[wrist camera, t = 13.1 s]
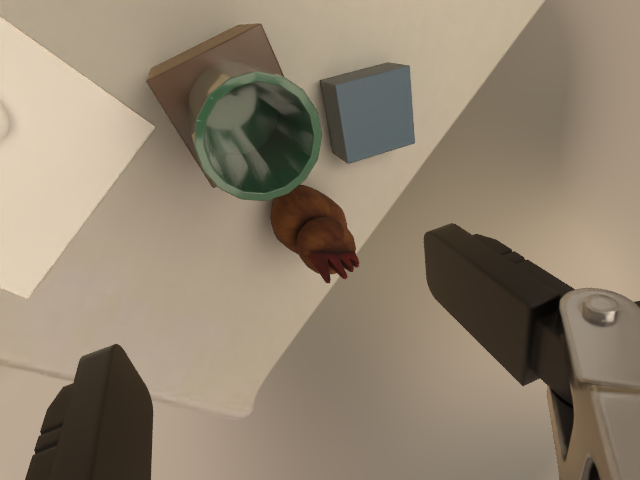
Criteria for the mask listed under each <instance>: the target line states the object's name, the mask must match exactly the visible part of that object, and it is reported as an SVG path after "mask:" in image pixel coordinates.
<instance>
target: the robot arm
mask: <svg viewBox="0 0 640 480" xmlns="http://www.w3.org/2000/svg"><path fill="white" fill-rule="evenodd" d="M424 249H425V264H426V278H427V283H428V286H429V289H430V291H431V293H432V295H433V296H434V298H435V299H436V300H437V301H438V302H439V303H440V304H441V305H442V306H443V307H444V308H445V309H446V310H447V311H448V312H449V313H450V314H451V315H452V316H453V317H454V318H455V319H456V320H457V321H458V322H459V323H460V324H461V325H462V326H463V327H464V328H465V329H466V330H467V331H468V332H469V333H470V334H471V335H472V336H473V337H474V338H475V339H476V340H477V341H478V342H479V343H480V344H481V345H482V346H483V347H484V348H485V349H486V350H487V351H488V352H489V353H490V354H491V355H492V356H493V357H494V358H495V359H496V360H497V361H498V362H499V363H500V364H502V366H503V367H504V368H505V369H506V370H507V371H508V372H509V373H510V374H511V375H512V376H513V377H514V378H515V379H516V380H517V381H518V382H519V383H520V384H521V385H522V386H524V385H526V384H529V383H531V382H533V381H535V380H537V379H539V378H541V379H542V380H543V381H544V382H545V383H546V384H547V385H548V387H547V399H548V406H549V412H550V417H551V425H552V430H553V437H554V444H555V450H556V456H557V463H558V469H559V480H640V301H637V302H633V301H632V300H630V299H628V298H627V297H625V296H623V295H620V294H618V293H615V292H612V291H608V290H603V289H598V288H597V289H596V288H582V289H576V290H575V289H573V288H572V287H570V286H568V285H567V284H565V283H564V282H562V281H561V280H559V279H558V278H556V277H554V276H553V275H551V274H550V273H548V272H546V271H545V270H543V269H542V268H540V267H539V266H537V265H535V264H534V263H532V262H530V261H529V260H525V259H524V257H523V256H521V255H520V254H518V253H516V252H512V250H511V249H510V248H508V247H507V246H505V245H504V244H502V243H500V242H499V241H497V240H495V239H492V238H489V237H485V236H482V235H479V234H475V235H471V234H470V233H468V232H467V231H465V230H464V229H462V228H461V227H459V226H457V225H456V224H453V223H451V224H448V225H445V226H442V227H440V228H437V229H434V230H432V231H429V232H426V233H425V235H424ZM152 427H153V405H152V400H151V397H150V393H149V391H148V389H147V387H146V385H145V383H144V382H143V380H142V378H141V377H140V375H139V374H138V372H137V370H136V369H135V367H134V366H133V364H132V362H131V361H130V359H129V358H128V356H127V354H126V353H125V351H124V350H123V348H122V347H121V346H120V345H118V344H115V345H112V346H109V347H107V348H104V349H101V350H98V351H96V352H93V353H90V354H87V355H84V356H82V357H81V359H80V361H79V364H78V368H77V372H76V375H75V379H74V383H73V384H70V385H67V386H65V387H63V388H62V390H61V391H60V392H59V394H58V395H57V396H56V398H55V399H54V401H53V402H52V403H51V405H50V406H49V408H48V409H47V412H46V415H45V418H44V421H43V425H42V428H41V431H40V432H41V435H40V436H39V437H38V440H37V443H36V447H35V450H34V451H35V455H33V456H32V459H31V462H30V466H29V469H28V472H27V475H26V479H25V480H151V459H152V458H151V457H152V429H153V428H152Z"/></svg>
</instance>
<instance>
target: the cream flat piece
mask: <svg viewBox="0 0 640 480" xmlns="http://www.w3.org/2000/svg"><path fill="white" fill-rule="evenodd" d="M10 129H11V119H10V115H9V113H8V111H7V109H6V108H5V107H4V105H3V104H2V103H1V102H0V141H2V140H3V139H4V138H5V137H6V136H7V135H8V134H9V132H10Z"/></svg>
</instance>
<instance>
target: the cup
mask: <svg viewBox="0 0 640 480" xmlns="http://www.w3.org/2000/svg"><path fill="white" fill-rule="evenodd" d="M187 118H188V122H189V126H190V130H191V135H192V139H193V143H194V147H195V150H196V153H197V155H198V158H199V161H200V164H201V166H202V169H203V171H204V172H205V173H206V174H207V176H208V177H209V178H210V179H211V180H212V181H213V182H214V183H215V184H216V185H217V186H218V188H220V189H221V190H223V191H225V192H227V193H229V194H231V195H233V196H236V197H238V198H240V199H243V200H259V201H267V200H270V199H273V198H276V197H279V196H282V195H286V194H288V193H289V192H291V191H292V190H293V189H294V188H296V187H297V186H298V185H299V184H301V183H302V182H303V181H304V180H305V179H306V178H307V176H308V175H309V173H310V172H311V170H312V168H313V167H314V165H315V163H316V162H317V159H318V155H319V150H320V145H321V139H322V132H321V127H320V122H319V116H318V112H317V110H316V108H315V107H314V105H313V104H312V102H311V101H310V99H309V98H308V96H307V94H306V93H305V91H303V89H301V88H300V87H298V86H297V85H295V84H294V83H292V82H291V81H289V80H288V79H286V78H285V77H283V76H281V75H279V74H276V73H274V72H271V71H269V70H266V69H264V68H261V67H259V66H256V65H254V64H250V63H245V62H241V61H234V60H233V61H224V62H220V63H217V64H214V65H212V66H210V67H209V68H207V69H206V70H204V71H203V72H202V73H201V74H200V75H199V76H198V78H197V79H196V80H195V82H194V83H193V85H192V87H191V90H190V92H189V95H188V101H187Z"/></svg>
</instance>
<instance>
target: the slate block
mask: <svg viewBox="0 0 640 480" xmlns="http://www.w3.org/2000/svg"><path fill="white" fill-rule="evenodd" d="M320 83H321V88H322V94H323V100H324V105H325V111H326V116H327V122H328V128H329V133H330V139H331V145H332V150H333V153H334V154H335V155H337V156H338V157H339V158H341V159H342V160H343V161H345V162H346V163H348V164H349V163H352V162H355V161H359V160H362V159H365V158H368V157H371V156H375V155H378V154H381V153H384V152H388V151H391V150H394V149H397V148H401V147H404V146H407V145H410V144H414V143H415V139H414V124H413V109H412V95H411V80H410V66H408V65H402V64H395V63H384V64H381V65H377V66H373V67H369V68H365V69H361V70H358V71H354V72H350V73H346V74H342V75H339V76H335V77H331V78H327V79H323V80H320Z"/></svg>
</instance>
